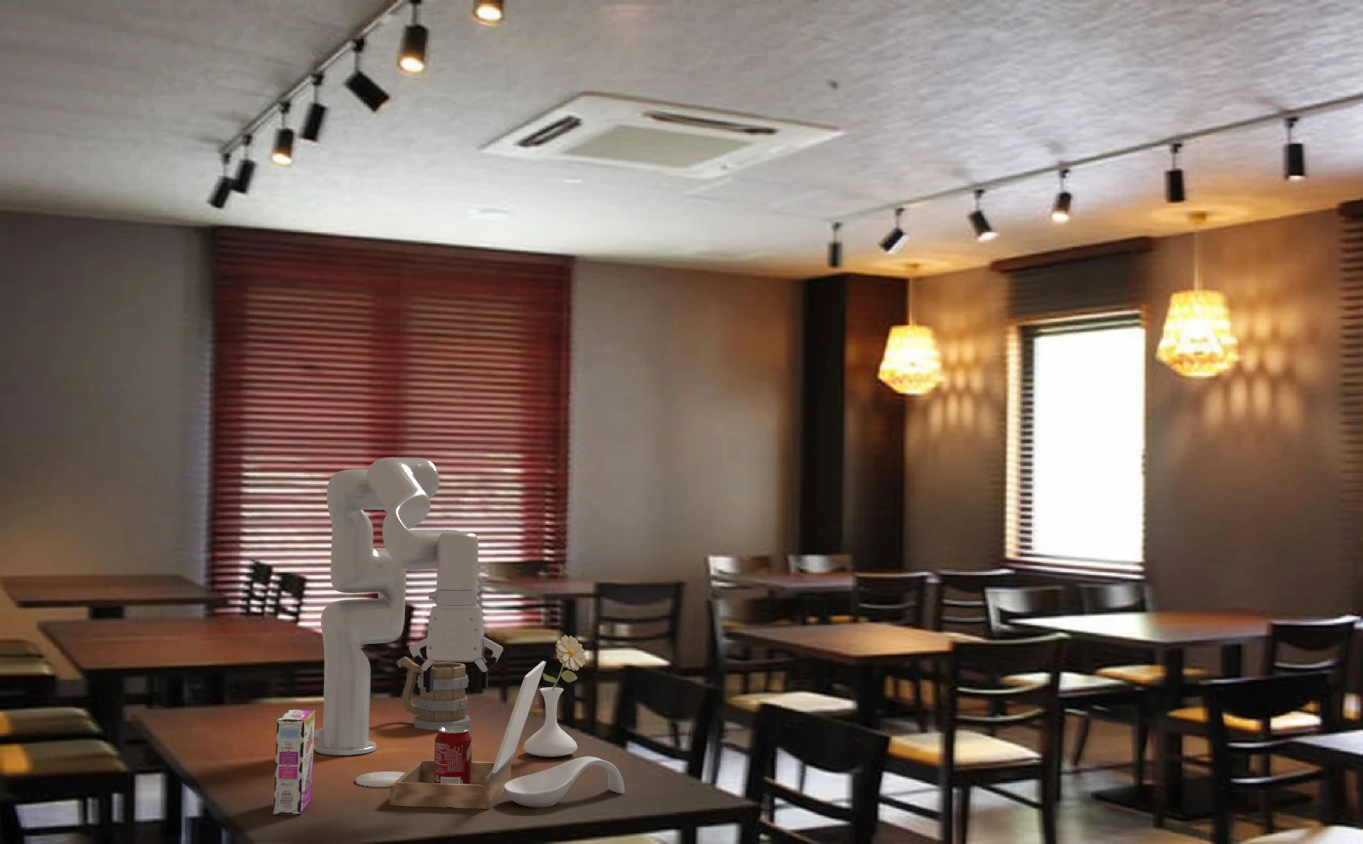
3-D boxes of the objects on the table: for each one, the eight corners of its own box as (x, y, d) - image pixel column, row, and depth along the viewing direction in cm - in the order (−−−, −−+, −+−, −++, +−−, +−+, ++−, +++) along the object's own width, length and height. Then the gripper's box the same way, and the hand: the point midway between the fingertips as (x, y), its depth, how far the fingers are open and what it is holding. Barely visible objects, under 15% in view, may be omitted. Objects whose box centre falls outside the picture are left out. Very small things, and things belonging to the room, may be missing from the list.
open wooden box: (389, 805, 250) (390, 775, 251) (417, 780, 270) (418, 752, 271) (489, 809, 249) (490, 778, 249) (510, 783, 269) (511, 755, 269)
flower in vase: (534, 762, 289) (537, 640, 290) (515, 752, 299) (517, 633, 300) (593, 757, 295) (595, 637, 296) (571, 747, 305) (574, 631, 306)
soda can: (463, 799, 256) (464, 733, 256) (428, 797, 257) (429, 731, 258) (475, 791, 262) (477, 726, 263) (441, 789, 264) (443, 724, 264)
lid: (524, 676, 250) (528, 677, 250) (542, 660, 270) (546, 662, 270) (489, 777, 249) (493, 778, 249) (510, 754, 269) (514, 756, 269)
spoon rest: (524, 816, 246) (525, 774, 246) (491, 802, 255) (492, 762, 256) (635, 798, 260) (636, 759, 260) (600, 786, 270) (600, 748, 270)
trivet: (348, 786, 265) (348, 783, 265) (365, 773, 276) (365, 770, 276) (406, 788, 264) (406, 785, 264) (420, 775, 275) (420, 772, 275)
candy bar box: (302, 816, 242) (304, 720, 243) (272, 816, 242) (275, 719, 242) (313, 800, 253) (316, 708, 254) (285, 800, 253) (287, 708, 253)
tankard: (480, 724, 330) (481, 660, 330) (443, 732, 319) (445, 666, 320) (417, 715, 341) (418, 653, 341) (379, 722, 330) (381, 658, 330)
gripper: (405, 600, 258) (403, 694, 257) (499, 601, 257) (497, 696, 256) (415, 596, 265) (414, 688, 264) (507, 598, 264) (505, 690, 263)
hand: (455, 692), depth 260 cm, fingers open, 9 cm apart
